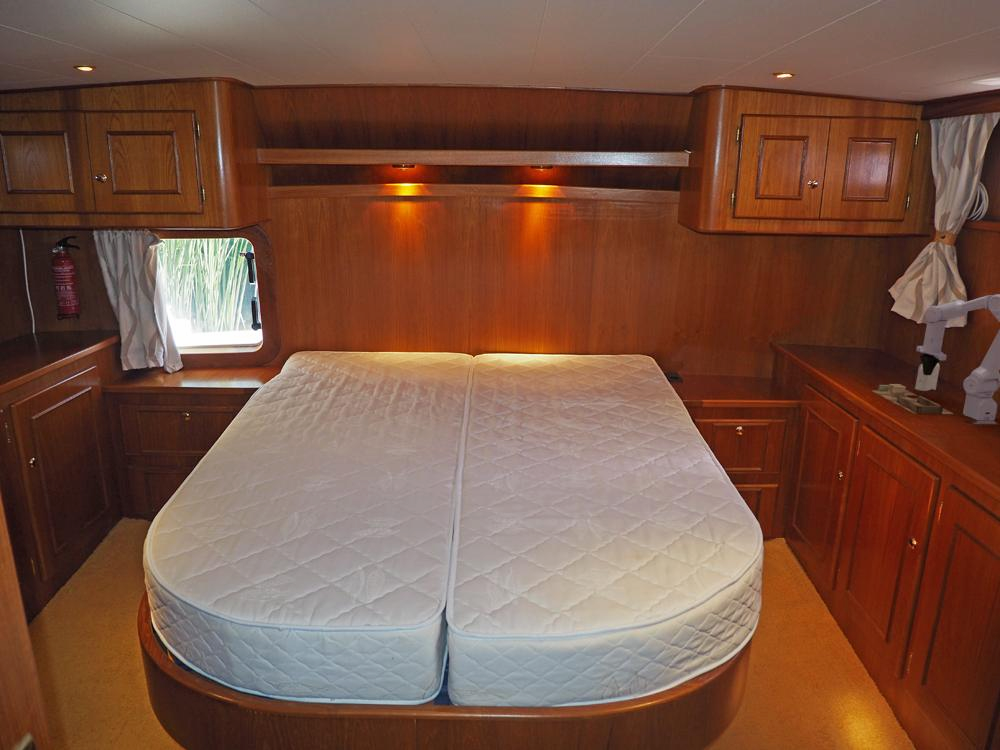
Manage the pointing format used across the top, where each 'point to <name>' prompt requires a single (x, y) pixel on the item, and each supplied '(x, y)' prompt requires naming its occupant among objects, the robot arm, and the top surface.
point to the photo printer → (927, 379)
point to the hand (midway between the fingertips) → (927, 374)
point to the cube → (896, 390)
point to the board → (884, 393)
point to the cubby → (927, 406)
